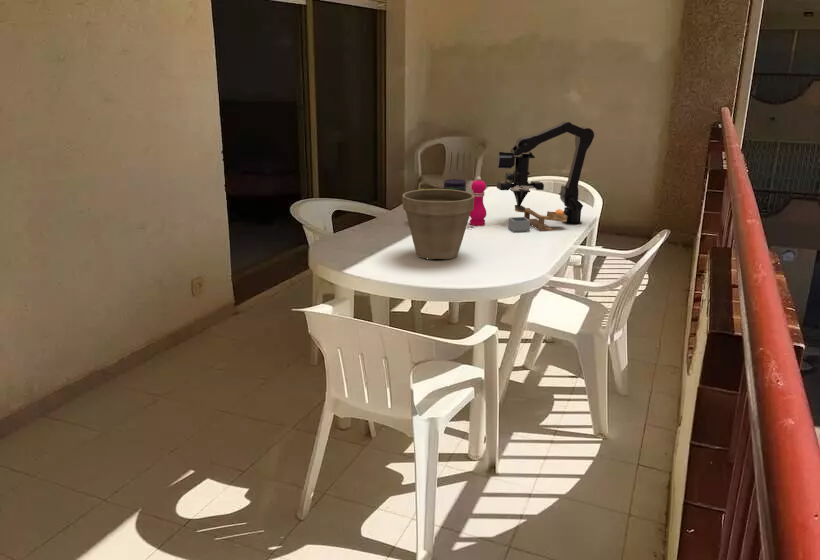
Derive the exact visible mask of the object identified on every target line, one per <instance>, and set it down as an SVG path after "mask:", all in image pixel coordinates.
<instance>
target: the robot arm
mask: <svg viewBox="0 0 820 560" xmlns="http://www.w3.org/2000/svg"><path fill="white" fill-rule="evenodd" d="M594 132H595V131H594V130H593V129H592V128H589V127H585V126H578V125H575V124H573V123H571V122H570V121H567V120H566V121H562V122H561V123H558V124H556V125H554V126H552V127H549V128H547V129H545V130H542V131H540V132H538V133H537V132H536V134H529V135H524V136H520V137H518V138H517V139H516V141H515V145H513V147H512V148H511V149H510V151H501V150H499V151H498V154H497V157H496V161H495V163H496V168H497V169H512V168H514V169H513V172H505V176H504V178H505V179H504V181H503V180H502V181H501V180H500V181H498V182H497V183H496V189H498V190H500V191H509V190H510V191H511V192H512V193H513V195H514V197H515V202H516V205H517V206H520V205H522V203H523V202H524V200H525V198H526V196H527V195H528V194H529V193H531V190H530V189H535V190H536V191H544V188H545V184H544V183H543V182H542V181H539V180H532V181H530V183H529V176H530V172H529V170H530V169H529V168H530V159H535V158H536V156H535V155H533V153H532V150H534V149H535V148H536V147H538V146H539V145H541V144H542V143H545V142H547V141H549V140H552V139H554V138H556V137H559V136H561V135H563V134H565V133H568V134H571V135H573V136H574V143H575V144H574V146H575V150H574V154H573V158H572V163H571V165H570V169H569V174H568V178H567V181H566V183H565V185H560V192H559V193H558V195H559V200H561V202H562V203H563V205H564V209H563V210H562V211H563V212H564V214H565V215H566V216H568V217H567V222H564V223H565V224H567V225H577V224H583V222H582V221H581V218H582V217H581V216H582V215H581V214H582V209H583V207H584V205H583V204H582V203H581V201H580V200H579V192H580V191H579V182H580V177H581V174H582V171H583V170H582V169H583V166H584V162H585V159H586V153H587V151H588V149H589V148H590V146H591V145H592V144H593V143H592V142H593V140H594V139H595V133H594Z"/></svg>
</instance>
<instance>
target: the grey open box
mask: <svg viewBox="0 0 820 560" xmlns="http://www.w3.org/2000/svg"><path fill="white" fill-rule="evenodd" d="M507 223H508V224H507V228H508V230H510V231H511V232H512V233H528V232H527V231H530V232H531V229H530V227H531V225H530V220H528V219H527V218H525V217H524V216H517V217H516V216H515V217H508V222H507Z"/></svg>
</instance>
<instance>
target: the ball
mask: <svg viewBox="0 0 820 560" xmlns="http://www.w3.org/2000/svg"><path fill="white" fill-rule="evenodd" d="M563 211H564V210H563V209H560V208H557V209H556V210H555V211H554V212H555V215H564V212H563Z"/></svg>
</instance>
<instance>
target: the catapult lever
mask: <svg viewBox="0 0 820 560" xmlns="http://www.w3.org/2000/svg"><path fill="white" fill-rule="evenodd" d="M525 208H526V207H525V206H524V205H522V204H521V205H520V206H517V204H514V211H515V212H517V213H529V214H530V216H532V217H534V218H535V219H537V220H539V217H545V221H547V220H548V221H553V222H563V223H565V222H567V217H568V216H566V215H565V214H564V215H555V211H548V210H547V213H546V215H541V214H539V213H538V212H535V211H534V210H533V209H531V208H530V209H525Z"/></svg>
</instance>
